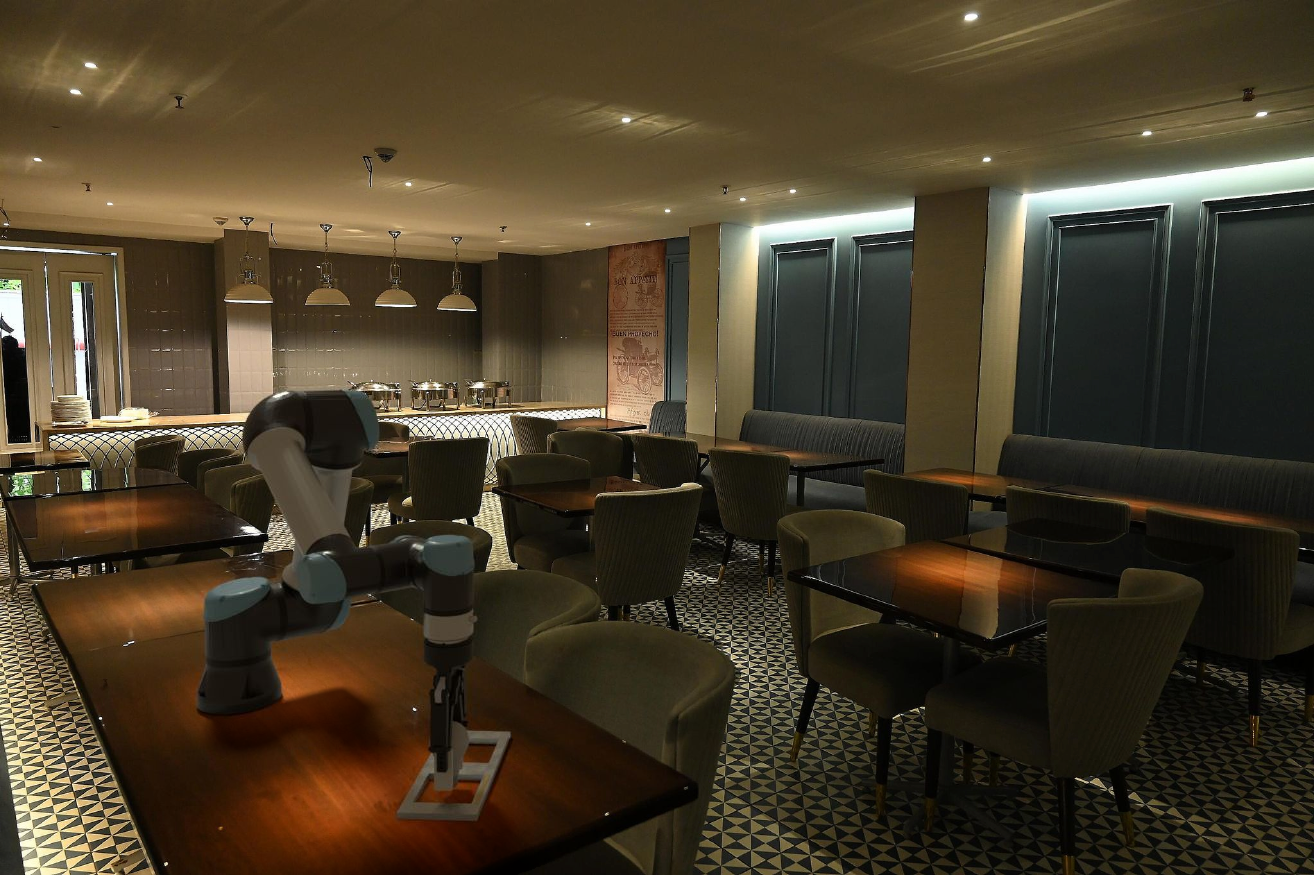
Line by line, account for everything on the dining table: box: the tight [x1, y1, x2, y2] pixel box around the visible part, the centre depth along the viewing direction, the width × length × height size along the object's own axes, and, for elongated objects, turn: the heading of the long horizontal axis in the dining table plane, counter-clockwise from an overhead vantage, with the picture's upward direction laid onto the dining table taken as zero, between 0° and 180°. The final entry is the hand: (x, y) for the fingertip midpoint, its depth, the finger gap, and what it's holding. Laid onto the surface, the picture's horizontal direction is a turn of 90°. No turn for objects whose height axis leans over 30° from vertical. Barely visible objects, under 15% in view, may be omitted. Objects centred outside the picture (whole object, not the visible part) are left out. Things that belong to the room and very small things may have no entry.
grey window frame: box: [396, 730, 511, 822], centre depth 142 cm, size 12×28×1 cm, turn 0°
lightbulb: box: [428, 721, 469, 789], centre depth 135 cm, size 6×6×11 cm
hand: (449, 778), depth 136 cm, fingers closed on lightbulb, 6 cm apart
